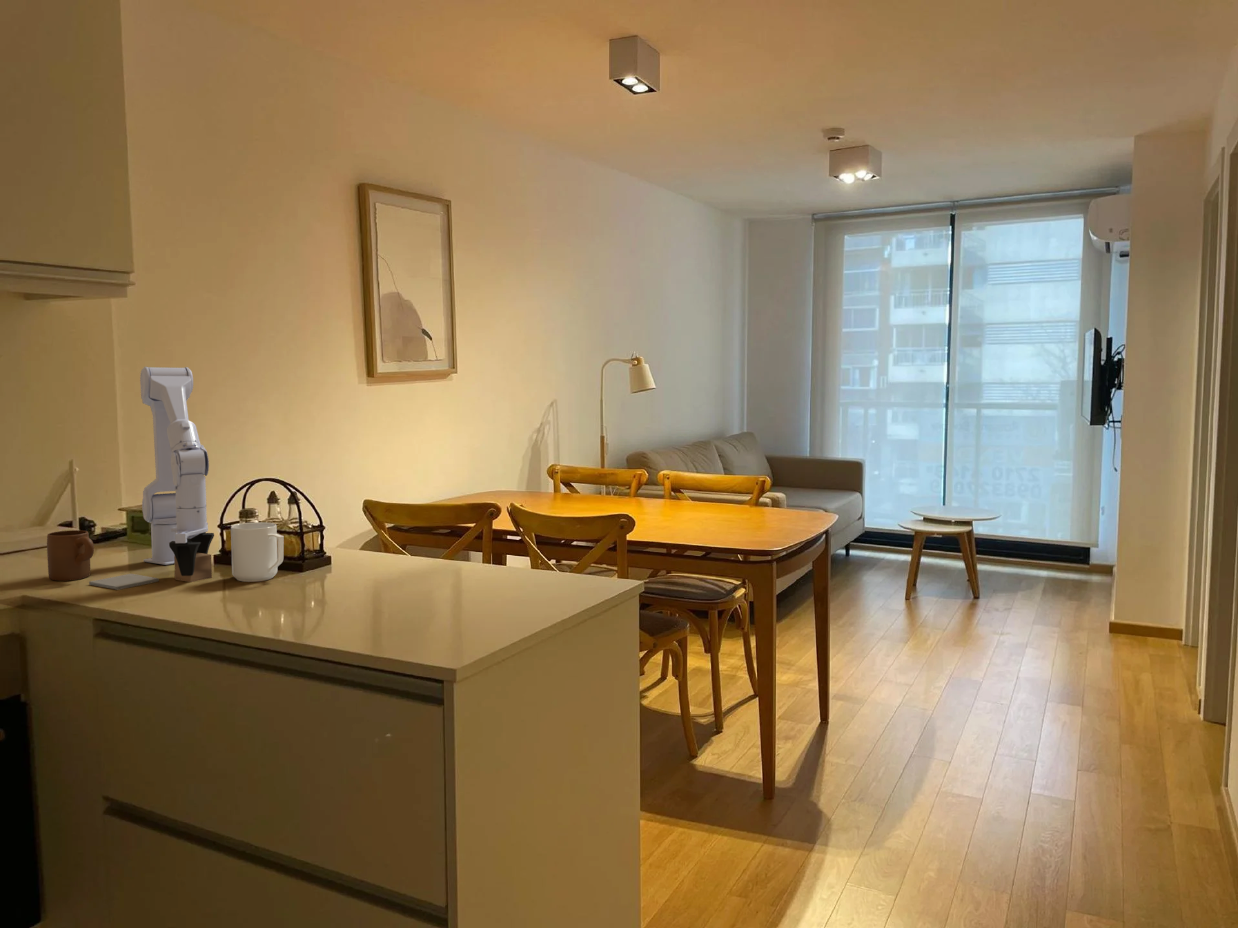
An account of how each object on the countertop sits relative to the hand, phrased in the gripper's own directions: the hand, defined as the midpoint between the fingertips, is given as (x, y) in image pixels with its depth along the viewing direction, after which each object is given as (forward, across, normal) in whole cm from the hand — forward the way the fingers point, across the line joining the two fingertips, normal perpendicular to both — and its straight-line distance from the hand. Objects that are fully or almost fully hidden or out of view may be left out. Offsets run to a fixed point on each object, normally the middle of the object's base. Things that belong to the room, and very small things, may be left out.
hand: (193, 571), depth 193 cm
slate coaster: (+1, +3, -12) cm, 13 cm away
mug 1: (+2, -2, -24) cm, 24 cm away
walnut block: (+2, 0, 0) cm, 2 cm away
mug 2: (+2, +1, +14) cm, 14 cm away
